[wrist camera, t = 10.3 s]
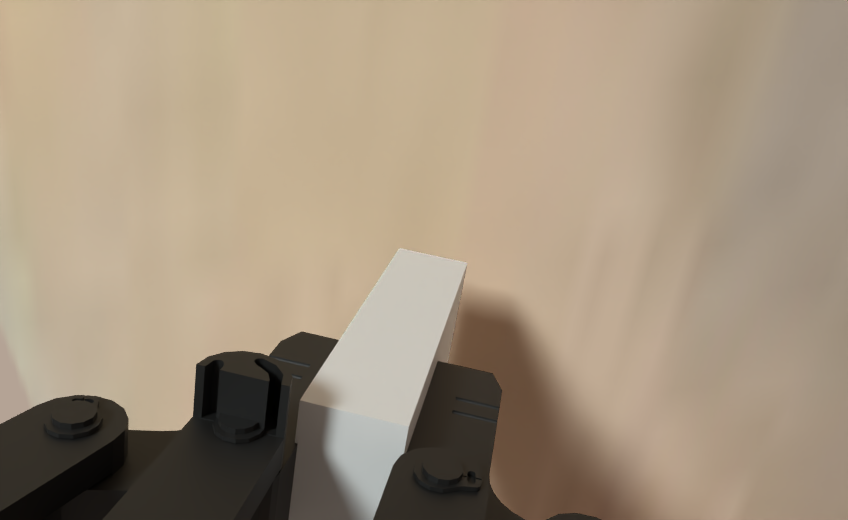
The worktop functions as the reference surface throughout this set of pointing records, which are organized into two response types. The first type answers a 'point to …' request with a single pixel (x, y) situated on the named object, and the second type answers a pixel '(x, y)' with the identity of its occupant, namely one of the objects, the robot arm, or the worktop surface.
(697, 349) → the worktop surface
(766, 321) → the worktop surface
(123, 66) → the worktop surface
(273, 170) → the worktop surface
